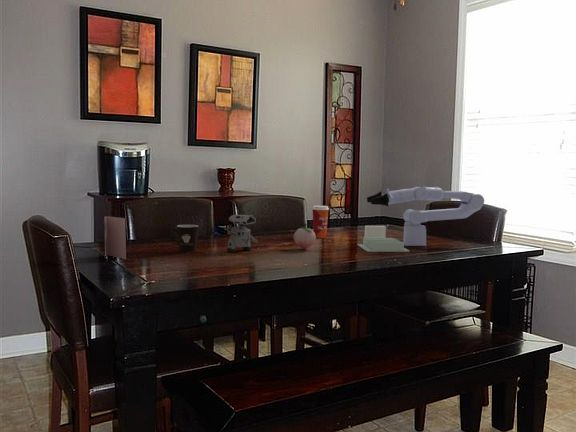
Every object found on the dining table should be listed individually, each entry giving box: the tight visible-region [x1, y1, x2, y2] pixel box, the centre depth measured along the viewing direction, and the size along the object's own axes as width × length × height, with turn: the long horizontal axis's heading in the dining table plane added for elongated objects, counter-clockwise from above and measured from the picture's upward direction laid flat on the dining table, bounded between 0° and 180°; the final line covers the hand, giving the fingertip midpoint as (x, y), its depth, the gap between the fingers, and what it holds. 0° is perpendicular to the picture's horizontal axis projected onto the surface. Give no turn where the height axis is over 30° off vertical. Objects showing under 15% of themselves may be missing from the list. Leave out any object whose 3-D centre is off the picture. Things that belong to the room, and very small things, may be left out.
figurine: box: [226, 214, 261, 253], centre depth 219 cm, size 9×12×15 cm
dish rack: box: [357, 237, 410, 253], centre depth 235 cm, size 18×17×4 cm
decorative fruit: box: [293, 227, 317, 250], centre depth 228 cm, size 9×8×10 cm
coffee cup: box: [311, 205, 330, 239], centre depth 263 cm, size 8×8×15 cm
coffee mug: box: [167, 224, 200, 253], centre depth 220 cm, size 12×9×10 cm
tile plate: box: [364, 225, 387, 238], centre depth 247 cm, size 9×2×8 cm, turn 96°
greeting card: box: [102, 215, 127, 260], centre depth 200 cm, size 11×7×15 cm, turn 22°
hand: (369, 200), depth 243 cm, fingers open, 7 cm apart
